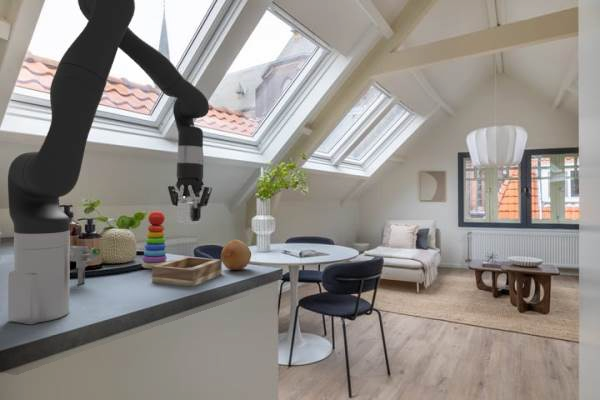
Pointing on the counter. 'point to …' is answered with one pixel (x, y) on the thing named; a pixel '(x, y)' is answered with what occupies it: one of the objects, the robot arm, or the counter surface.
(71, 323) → the counter surface
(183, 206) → the white block
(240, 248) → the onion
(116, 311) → the counter surface
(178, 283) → the brown wooden tray
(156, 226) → the stacking toy
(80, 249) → the mechanical component
